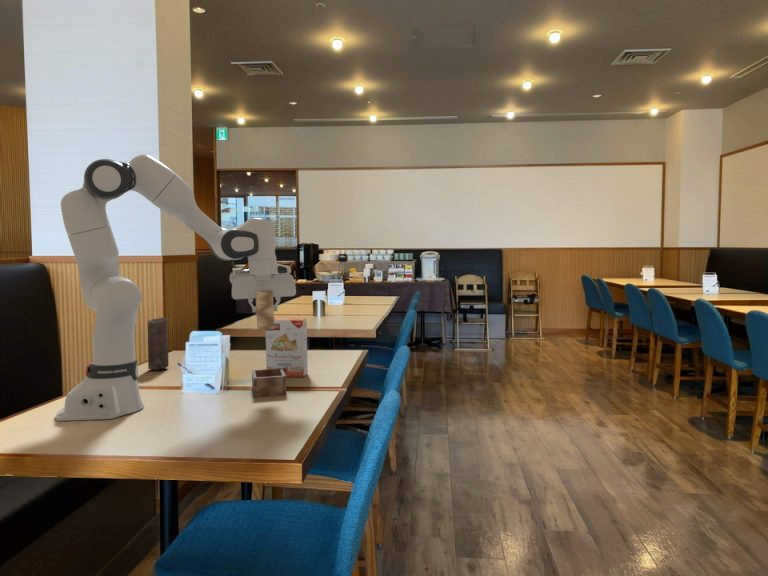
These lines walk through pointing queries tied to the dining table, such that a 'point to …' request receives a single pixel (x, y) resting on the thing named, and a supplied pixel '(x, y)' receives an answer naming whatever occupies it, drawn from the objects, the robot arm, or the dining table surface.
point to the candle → (157, 344)
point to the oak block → (265, 310)
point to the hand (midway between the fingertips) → (265, 311)
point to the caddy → (268, 382)
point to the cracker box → (287, 346)
